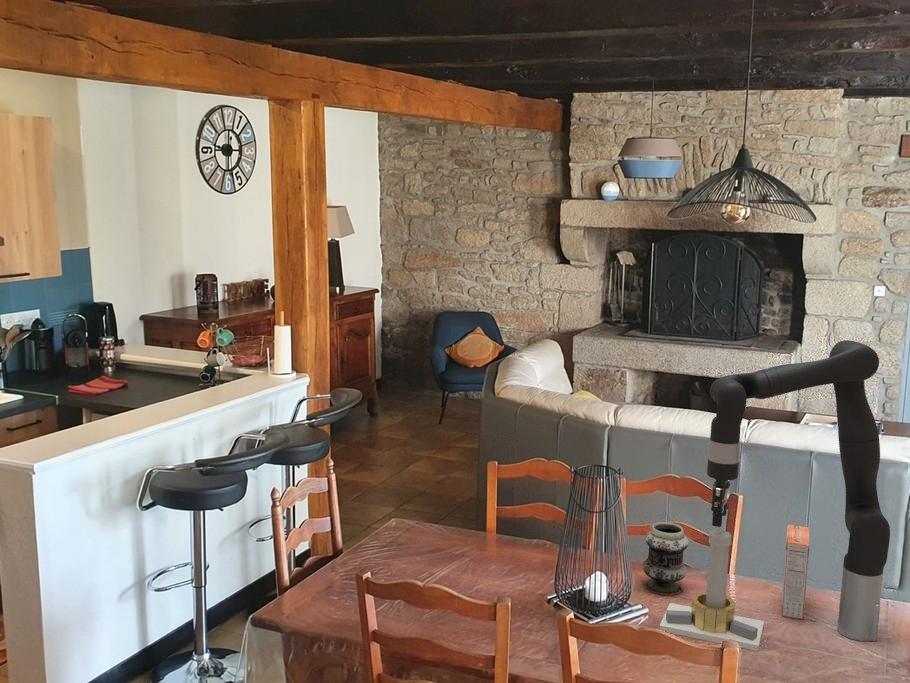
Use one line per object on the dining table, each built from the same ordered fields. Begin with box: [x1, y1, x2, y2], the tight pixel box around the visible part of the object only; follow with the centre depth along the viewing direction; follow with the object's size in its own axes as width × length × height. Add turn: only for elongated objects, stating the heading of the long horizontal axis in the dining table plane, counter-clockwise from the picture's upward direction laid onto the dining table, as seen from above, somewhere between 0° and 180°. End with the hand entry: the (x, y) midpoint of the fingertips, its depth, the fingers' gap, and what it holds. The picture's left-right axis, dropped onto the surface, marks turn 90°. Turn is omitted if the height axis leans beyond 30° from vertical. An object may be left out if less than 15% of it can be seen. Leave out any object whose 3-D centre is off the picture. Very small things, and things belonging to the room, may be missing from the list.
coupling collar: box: [691, 591, 736, 633], centre depth 234 cm, size 10×10×6 cm
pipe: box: [706, 510, 732, 609], centre depth 232 cm, size 6×6×30 cm
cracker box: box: [781, 524, 810, 620], centre depth 246 cm, size 14×6×21 cm, turn 159°
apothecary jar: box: [642, 521, 689, 596], centre depth 257 cm, size 12×12×18 cm
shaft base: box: [659, 602, 765, 652], centre depth 235 cm, size 24×14×4 cm, turn 66°
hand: (719, 520), depth 230 cm, fingers open, 8 cm apart
